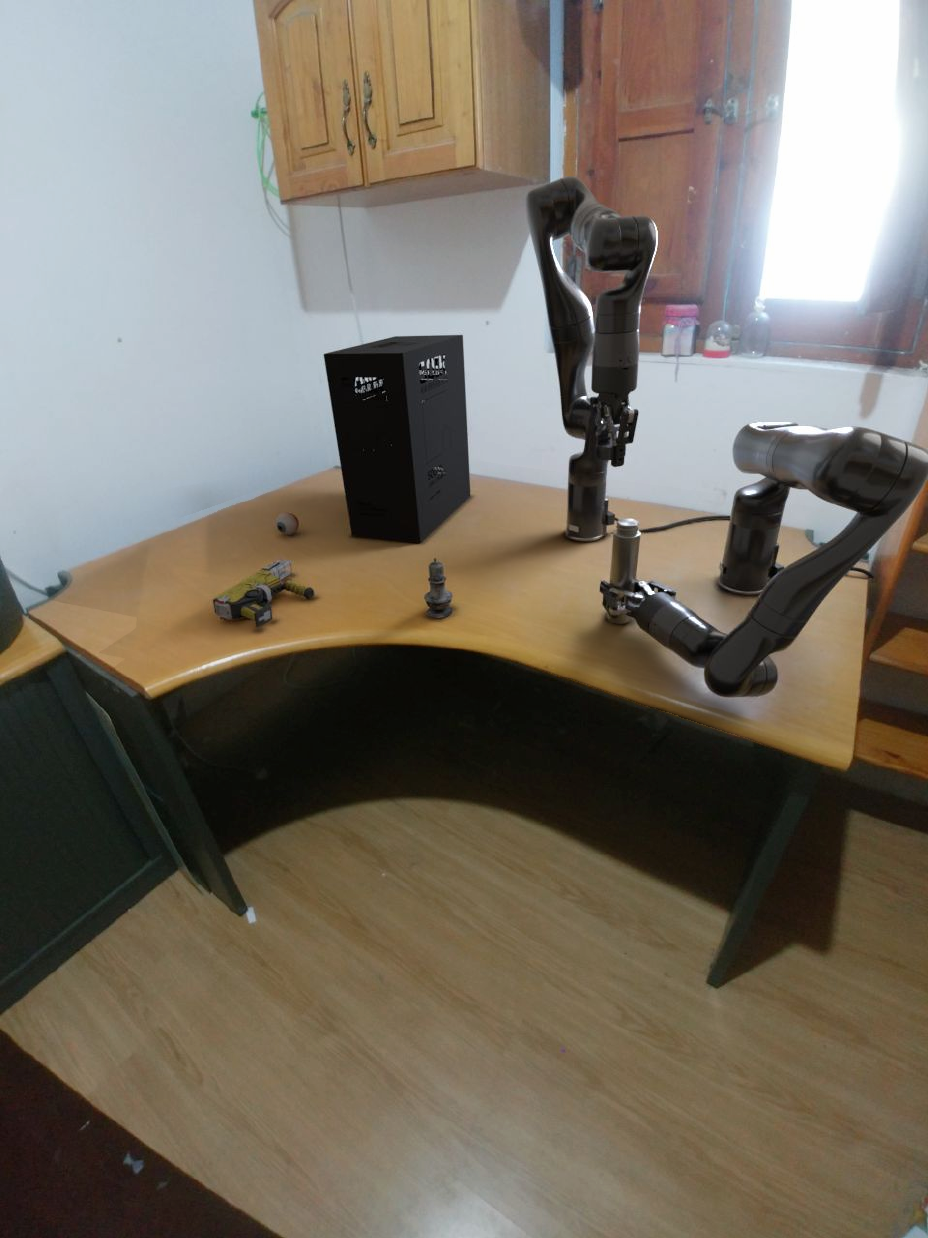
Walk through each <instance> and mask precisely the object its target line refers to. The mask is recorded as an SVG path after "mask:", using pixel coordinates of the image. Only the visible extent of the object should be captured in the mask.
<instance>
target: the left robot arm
mask: <svg viewBox="0 0 928 1238" xmlns="http://www.w3.org/2000/svg"><path fill="white" fill-rule="evenodd" d="M525 213H526V220H527V224H528V230H529V234H530V238H531V242H532V246H533V251H534V254H535V258H536V262H537V266H538V271H539V275H540V279H541V285H542V290H543V291H542V292H543V296H544V303H545V309H546V316H547V323H548V328H549V334H550V340H551V343H552V344H551V345H552V348H553V353H554V358H555V359H554V360H555V365H556V373H557V378H558V379H557V380H558V385H559V397H560V398H559V399H560V410H561V421H562V426H563V428H564V431H565V433H566V434H567V435H568V436H569V437H572V438H575V439H578V440H581V441H582V440H583V441H584V445H583V451H580V452H577V453H574V454H572V455H571V456H569V459H568V468H567V469H568V473H567V501H566V502H567V503H566V527H565V536H566V537H567V538H568V539H570V540H572V541H576V542H583V543H584V542H586V543H587V542H594V541H599V540H600V539H602V538H604V536H607V530H608V529H607V528H608V527H607V526H609V527H610V526H612V525H613V526H614V525H615V521H616V522H617V521H618V520H620V518H618V517H616V514H615V513H614V512H612V511H610V510H609V498H607V497H606V493H607V477H608V465H609V461H610V466H611V467H613V468H619V467H623V466H624V465H625V457H626V453H625V446H627V445H628V444H633V443H634V440H635V434H636V428H637V425H638V418H639V410H638V408H634V409H632V408H631V407H630V396H629V395H630V394H631V393H632V392H634V391H636V389H637V386H638V377H639V376H638V374H639V361H640V322H641V321H640V320H641V309H642V308H641V307H642V306H641V305H642V300H643V295H644V293H645V292H644V291H645V287H646V284H647V281H648V277H649V275H650V270H651V268H652V265H653V262H654V258H655V255H656V252H657V248H658V239H659V238H658V237H659V236H658V230H657V229H658V228H657V226H656V224H655V222H654V221H653V219H652V218H651V217H650V216H648V215H641V214H640V215H630V216H621V215H620V214H619V213H618V212H617V211H616V210H614V209H613V208H611V207H609V206H607V205H605V204H602V203H600V202H599V201H598V199H597V198H596V197H595V195H594V194H593V193H592V191H591V190H590V189H589V188H588V186H587V185H586V184H585V183H584V181H583V180H582V179H580V178H578V177H577V176H574V175H569V176H564V177H561V178H558V179H556V180H553V181H550V182H548V183H545V184H542V185H539V186H537V187H535V188H532V189H530V190H529V191H528V192H527V193H526V197H525ZM568 236H570V237H571V240H572V243H573V244H574V245H575V247H576V248H577V249H579V250H580V251H581V252H583V253H584V254H585V260H586V264H587V266H588V268H589V269H590V270H592V271H593V272H597V273H604V274H605V273H615V272H623V271H625V274H624V276H623V278H622V280H621V281H620V283H619V284H618V285H615V287H612V288H609V289H606V290H602V292H600V293H598V294H597V296H596V299H595V308H594V314H593V307H592V303H591V301H590V300H589V298H588V296H587V295H586V294H585V293H584V292H583V290H582V289H581V288H580V286H578V285H577V284H576V283H575V282H574V281H573V280H572V279H571V277H570V276H569V275H568V274H567V273H566V271H565V270H564V268H563V267H562V266H561V264H560V262H559V261H558V258H557V256H556V253H555V250H554V247H553V242H554V241H558V240H560V239H563V238H566V237H568ZM591 354H592V355H591ZM590 357H591V385H590V386H591V387H590V388H591V391H592V393H595V394H597V395H596V396H590V397H589V396H588V392H587V389H586V379H585V378H586V377H585V375H586V369H587V366H588V363H589V360H590ZM617 432H618V433H617ZM603 440H612V450H611V460H601V459H598V458H597V457H596V456H595V454H596V444H597V442H599V441H603ZM624 456H625V457H624ZM730 516H731V515H707V516H699V517H694V518H689V519H684V520H680V521H675V522H672V523H669V524H665V525H662V526H655V527H649V528H645V529H638V531H640V533H647V532H653V531H660V530H664V529H665V530H666V529H668V528H672V527H675V526H679V525H682V524H687V523H692V522H697V521H702V520H712V519H730Z"/></svg>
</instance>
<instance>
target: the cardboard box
mask: <svg viewBox="0 0 928 1238" xmlns="http://www.w3.org/2000/svg"><path fill="white" fill-rule="evenodd" d="M464 350H465V349H464V335H463V334H440V335H439V334H438V335H437V334H436V335H435V334H434V335H433V334H432V335H402V336H401V335H397V336H395V335H394V336H391V337H387V338H383V339H378V340H374V341H371V342H367V343H362V344H359V345H354V346H349V347H346V348H341V349H337V350H334V351H329V352H326V353H323V359H324V367H325V373H326V380H327V385H328V392H329V398H330V399H329V400H330V406H331V412H332V418H333V425H334V430H335V437H336V444H337V451H338V456H339V463H340V469H341V476H342V483H343V489H344V495H345V501H346V503H345V504H346V509H347V514H348V520H349V527H350V528H349V529H350V533H351V535H350V536H351V537H359V538H367V539H376V540H377V539H378V540H388V541H397V542H406V543H407V542H408V543H417V544H421V543H422V542H423V541H425V540H426V538H428V537H429V536H430V535H431V534H432V533H433V532H434V531H435V530H436V529H438V527H439V526H441V524H443V522H445V521H446V520H447V519H448V518H449V517H450V516H452V514H453V513H454V512H455V511H457V509H458V508H459V507H461V506H462V505H463V504H464V503H465V502H466V501H467V500H468V499H469V498H470V497H471V478H470V459H469V458H470V457H469V435H468V415H467V413H468V412H467V394H466V392H467V391H466V374H465V373H466V372H465V371H466V370H465V354H464V353H465V352H464ZM422 363H423V365H422ZM440 364H441V365H440ZM440 366H441V367H440ZM366 378H367V380H366ZM370 379H371V380H370ZM361 380H362V381H361Z"/></svg>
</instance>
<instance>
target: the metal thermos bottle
mask: <svg viewBox="0 0 928 1238" xmlns="http://www.w3.org/2000/svg"><path fill="white" fill-rule="evenodd" d="M615 524H616V526H615V528H616V529H614V530H613V532H612V546H611V559H610V572H609V574H610V575H609V582H608V583H609V584H610V585H612V586H613V587H614V588H615V589H617V590H620V591H623V590H626V591H629V592H631V593H635V583H636V579H637V574H638V573H637V572H638V564H639V563H638V562H639V554H640V544H641V543H640V542H641V533H642V532H640V531H638V530H639V527H640V525H639V521H638V520H636V519H635V518H630V517H629V518H627V517H625V518H619V520H618V521H616V523H615ZM616 599H618V596H617V595H616ZM625 601H626V599H625ZM606 619H607V620H608V621H609V622H611V623H613V624H618V625H622V624H623V625H624V624H627V623H630V622H631V621H632V620H633V618H632V617H629V616H627V615H626V614H618V616H617V618H616V619H612V618H611V617H610V616H609V614H608V613H607V612H606Z"/></svg>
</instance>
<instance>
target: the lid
mask: <svg viewBox="0 0 928 1238" xmlns="http://www.w3.org/2000/svg"><path fill="white" fill-rule="evenodd" d="M611 450H612V440H603V441H599V442H597V444H596V454H595V456H596V457H597V458H598V459H601V460H609V461H611ZM626 453H627V445H625V454H626ZM625 457H626V455H625V456H624V458H625Z"/></svg>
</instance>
